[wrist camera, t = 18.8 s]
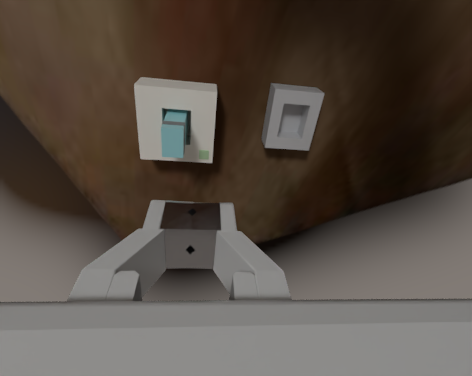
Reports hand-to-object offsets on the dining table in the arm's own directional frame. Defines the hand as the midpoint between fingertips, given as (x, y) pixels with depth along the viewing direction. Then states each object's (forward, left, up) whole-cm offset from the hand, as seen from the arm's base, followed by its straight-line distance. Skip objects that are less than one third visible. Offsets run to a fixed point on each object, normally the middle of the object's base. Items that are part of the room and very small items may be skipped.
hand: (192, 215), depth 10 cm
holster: (+8, +15, -39) cm, 43 cm away
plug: (+10, -4, -38) cm, 40 cm away
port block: (+10, -4, -39) cm, 41 cm away
